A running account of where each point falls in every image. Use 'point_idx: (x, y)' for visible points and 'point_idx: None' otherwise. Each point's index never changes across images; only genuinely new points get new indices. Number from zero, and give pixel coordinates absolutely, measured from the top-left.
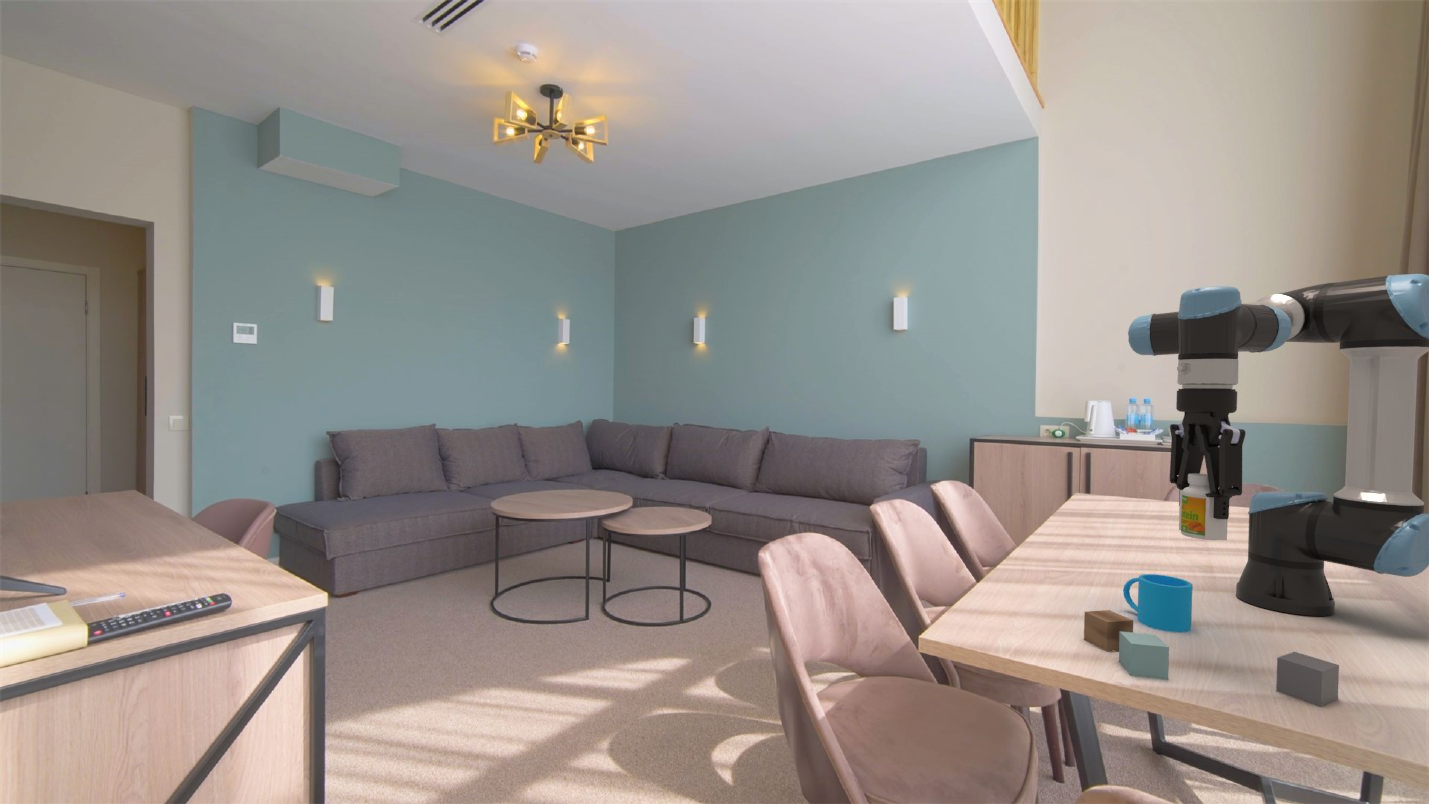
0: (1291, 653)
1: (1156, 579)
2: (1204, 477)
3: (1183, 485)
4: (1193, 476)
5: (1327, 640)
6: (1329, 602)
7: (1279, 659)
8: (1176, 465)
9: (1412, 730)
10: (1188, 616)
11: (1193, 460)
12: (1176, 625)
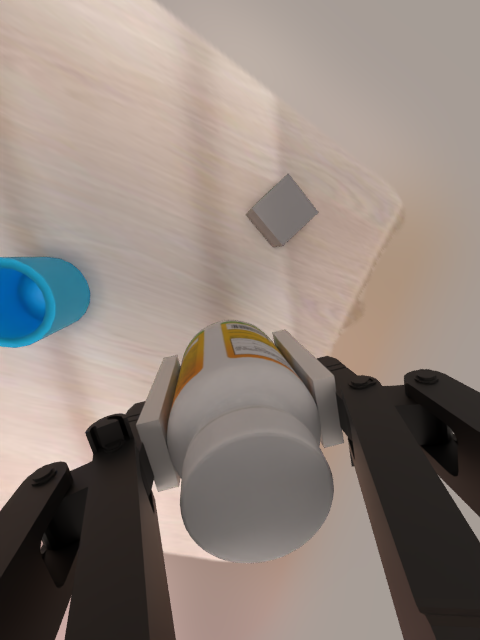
0: (261, 217)
1: None
2: (327, 511)
3: (151, 497)
4: (291, 548)
5: (19, 41)
6: None
7: (284, 243)
8: (53, 632)
9: (339, 150)
10: (66, 269)
11: (168, 636)
12: (84, 288)
